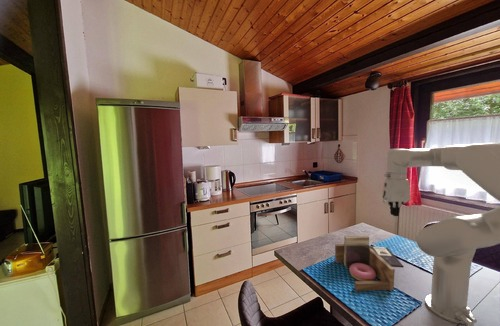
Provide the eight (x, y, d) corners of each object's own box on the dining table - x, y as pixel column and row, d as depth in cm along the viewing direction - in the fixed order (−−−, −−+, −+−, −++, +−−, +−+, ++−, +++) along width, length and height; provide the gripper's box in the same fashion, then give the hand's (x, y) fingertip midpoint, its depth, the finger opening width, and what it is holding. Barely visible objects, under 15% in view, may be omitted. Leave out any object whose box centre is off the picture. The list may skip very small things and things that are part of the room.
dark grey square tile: (369, 267, 104) (370, 246, 103) (346, 268, 104) (347, 246, 103) (368, 266, 105) (368, 245, 103) (345, 267, 105) (346, 245, 103)
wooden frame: (393, 289, 89) (395, 255, 87) (356, 290, 89) (357, 256, 87) (365, 259, 110) (366, 232, 109) (335, 260, 110) (335, 233, 109)
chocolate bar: (383, 264, 105) (370, 246, 123) (382, 266, 105) (370, 247, 123) (403, 266, 103) (387, 247, 121) (403, 267, 104) (387, 249, 121)
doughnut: (377, 286, 91) (377, 277, 90) (348, 280, 95) (349, 271, 95) (374, 272, 101) (374, 263, 100) (348, 266, 105) (349, 258, 105)
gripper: (385, 178, 93) (383, 218, 95) (419, 176, 93) (417, 217, 95) (375, 175, 100) (373, 213, 102) (406, 174, 100) (404, 211, 102)
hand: (394, 215), depth 98 cm, fingers closed
